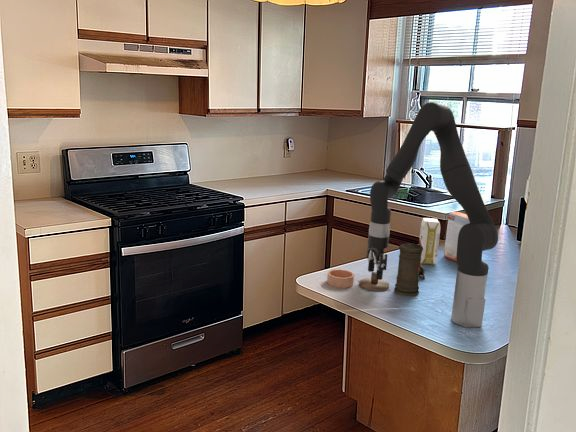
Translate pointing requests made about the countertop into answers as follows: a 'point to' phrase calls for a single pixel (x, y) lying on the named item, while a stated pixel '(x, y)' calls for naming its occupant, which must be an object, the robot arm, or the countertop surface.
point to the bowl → (340, 278)
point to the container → (408, 269)
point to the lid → (374, 283)
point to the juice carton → (429, 240)
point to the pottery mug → (421, 272)
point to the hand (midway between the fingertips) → (374, 275)
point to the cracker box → (454, 233)
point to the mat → (371, 290)
